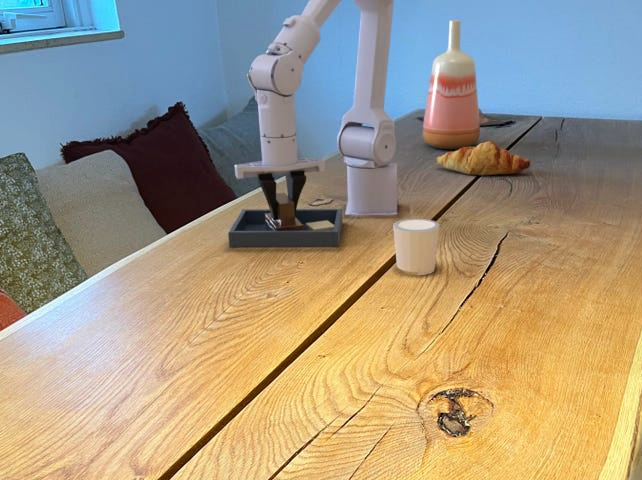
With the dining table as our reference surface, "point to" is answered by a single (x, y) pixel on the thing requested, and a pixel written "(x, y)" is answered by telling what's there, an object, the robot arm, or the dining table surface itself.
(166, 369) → the dining table surface
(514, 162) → the croissant
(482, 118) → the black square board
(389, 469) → the dining table surface
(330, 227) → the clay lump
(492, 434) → the dining table surface
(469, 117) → the vase
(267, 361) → the dining table surface
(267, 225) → the stepped wooden pedestal
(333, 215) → the tray
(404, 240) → the shot glass
